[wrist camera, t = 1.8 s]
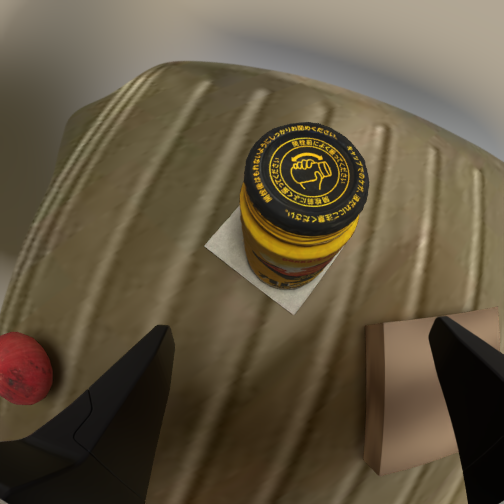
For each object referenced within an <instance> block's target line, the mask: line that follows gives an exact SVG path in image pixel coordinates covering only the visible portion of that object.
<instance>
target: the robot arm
mask: <svg viewBox="0 0 504 504" xmlns="http://www.w3.org/2000/svg"><path fill="white" fill-rule="evenodd" d="M428 340H429V344H430V348H431V352H432V356H433V360H434V364H435V369H436V373H437V377H438V380H439V383H440V386H441V389H442V392H443V396H444V399H445V402H446V406H447V409H448V412H449V416H450V420H451V423H452V427H453V431H454V435H455V439H456V443H457V447H458V451H459V456H460V460H461V465H462V470H463V476H464V481H465V487H466V493H467V500H468V504H499V503H501V502H502V501H504V354H502V353H501V352H499V351H498V350H497V349H495V348H494V347H492V346H491V345H489V344H488V343H487V342H485V341H484V340H482V339H481V338H479V337H478V336H476V335H475V334H473V333H472V332H470V331H469V330H467V329H466V328H464V327H463V326H461V325H460V324H458V323H457V322H455V321H454V320H452V319H451V318H449V317H448V316H438V317H436V319H435V320H434V323H433V325H432V327H431V330H430V332H429V335H428ZM174 352H175V343H174V339H173V335H172V331H171V328H170V326H168V325H157V326H155V327H154V328H153V329H152V330H151V331H150V332H149V333H148V334H147V335H145V336H144V337H143V338H142V339H141V340H140V341H139V342H138V343H137V344H136V345H135V346H133V347H132V348H131V349H130V350H129V351H128V352H127V353H126V354H125V355H124V356H123V357H122V358H120V359H119V360H118V361H117V362H116V363H115V364H114V365H113V366H112V367H111V368H110V369H109V370H108V371H106V372H105V373H104V374H103V375H102V376H101V377H100V378H99V379H98V380H97V381H96V382H95V383H94V384H92V385H91V386H90V387H89V390H88V389H87V390H86V391H85V392H84V393H83V394H82V395H81V396H79V397H78V398H77V399H76V400H75V401H74V402H73V403H72V404H70V405H69V406H68V407H67V408H65V409H64V410H63V411H62V412H60V413H59V414H58V415H57V416H55V417H54V418H53V419H51V420H50V421H49V422H47V423H46V424H45V425H43V426H42V427H40V428H39V429H38V430H36V431H35V432H34V433H32V434H31V435H29V436H27V437H25V438H23V439H19V440H14V441H3V442H0V504H145V501H144V500H146V495H147V490H148V485H149V480H150V475H151V470H152V465H153V461H154V456H155V451H156V447H157V442H158V438H159V434H160V429H161V425H162V421H163V416H164V412H165V408H166V404H167V400H168V396H169V391H170V384H171V376H172V368H173V360H174Z"/></svg>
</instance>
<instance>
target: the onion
mask: <svg viewBox="0 0 504 504" xmlns="http://www.w3.org/2000/svg"><path fill="white" fill-rule="evenodd" d="M52 383H53V370H52V366H51V363H50V359H49V357H48V356H47V354H46V352H45V350H44V349H43V347H42V346H41V345H40V344H39V343H38V342H37V341H36V340H35V339H34V338H32V337H30V336H27V335H24V334H21V333H19V332H10V333H7V334H4V335H1V336H0V396H2V397H3V398H5V399H6V400H8V401H10V402H11V403H14V404H19V405H32V404H35V403H37V402H39V401H40V400H42V399H43V398H45V397H46V396H47V394H48V392H49V390H50V388H51V386H52Z"/></svg>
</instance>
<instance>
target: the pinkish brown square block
mask: <svg viewBox="0 0 504 504" xmlns="http://www.w3.org/2000/svg"><path fill="white" fill-rule="evenodd" d="M444 316H448V317H449V318H451V319H452V320H454V321H455V322H457V323H458V324H460V325H461V326H463V327H464V328H466V329H467V330H469V331H470V332H472V333H473V334H475V335H476V336H478V337H479V338H481V339H482V340H484V341H485V342H487V343H488V344H489V345H491V346H492V347H494V348H495V349H497V350H498V351H499V352H500V332H499V315H498V307H493V308H487V309H482V310H476V311H470V312H464V313H458V314H451V315H444ZM437 317H438V316H437ZM435 319H436V317H430V318H422V319H414V320H405V321H397V322H387V323H380V324H374V325H367V326H365V339H366V422H365V442H364V457H363V460H364V461H365V462H366V463H367V464H368V465H369V466H370V467H371V468H372V469H373V470H374V471H375V472H376V473H377V474H378V475H379V476H383V475H387V474H391V473H395V472H399V471H403V470H406V469H410V468H413V467H416V466H420V465H423V464H426V463H429V462H432V461H435V460H438V459H441V458H443V457H446V456H449V455H452V454H454V453H457V452H459V451H458V447H457V443H456V439H455V435H454V431H453V427H452V423H451V420H450V416H449V412H448V409H447V406H446V402H445V399H444V396H443V392H442V389H441V386H440V383H439V380H438V377H437V373H436V369H435V364H434V360H433V356H432V352H431V348H430V344H429V340H428V335H429V332H430V330H431V327H432V325H433V323H434V320H435Z"/></svg>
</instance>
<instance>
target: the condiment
mask: <svg viewBox="0 0 504 504" xmlns="http://www.w3.org/2000/svg"><path fill="white" fill-rule="evenodd" d="M244 174H245V176H244V182H243V184H242V188H241V191H240V200H239V202H240V204H239V205H240V206H239V207H238V208H237V209H236V210H235V211H234V212H233V213H232V215H231V216H230V218H228V219H227V220H226V221H225V223H224V224H223V225H222V226H221V227H220V228H219V230H218V231H217V232H216V233H215V234H214V235H213V236H212V238H211V239H210V240H209V241H208V242H207V243H206V245H205V247H206V248H207V249H209V250H210V251H211V252H213V253H214V254H215V255H216V256H217V257H219V258H220V259H221V260H223V261H224V262H225V263H227V264H228V265H229V266H230V267H232V268H233V269H234V270H236V271H237V272H238V273H239V274H241V275H242V276H243V277H244V278H246V279H247V280H248V281H249V282H251V283H252V284H253V285H255V286H256V287H257V288H259V289H260V290H261V291H262V292H264V293H265V294H266V295H268V296H269V297H270V298H272V299H273V300H274V301H276V302H277V303H278V304H280V305H281V306H282V307H283V308H285V309H286V310H287V311H289V312H290V313H292V314H293V315H295V313H296V312H297V311H298V309H299V308H300V307H301V305H302V304H303V303H304V301H305V300H306V298H307V297H308V296H309V294H310V293H311V292H312V290H313V289H314V288H315V286H316V285H317V283H318V282H319V281H320V279H321V278H322V276H323V275H324V274H325V272H326V271H327V270H328V268H329V267H330V265H331V264H332V262H333V261H334V260H335V258H336V257H337V255H338V254H339V252H340V251H341V250H342V248H343V247H344V245H345V244H346V242H347V241H348V240H349V239H350V238H351V237H352V235H353V233H354V231H355V228H356V226H357V224H358V220H359V214H360V212H361V211H362V210H363V208H364V205H365V203H366V201H367V196H368V188H369V177H368V173H367V168H366V165H365V160H364V158H363V157H362V156H361V154H360V153H359V151H358V150H357V149H356V148H355V146H354V145H353V144H352V143H351V142H350V141H349V140H348V139H347V138H346V137H345V136H343V135H342V134H340V133H338V132H337V131H335V130H333V129H332V128H330V127H327V126H324V125H321V124H319V123H311V122H304V123H293V124H288V125H284V126H280V127H277V128H274V129H272V130H270V131H269V132H267V133H266V134H265V135H263V136H262V137H261V138H260V139H259V140H258V141H257V142H256V143H255V144H254V146H253V147H252V149H251V150H250V153H249V155H248V157H247V160H246V166H245V172H244ZM242 239H243V242H242ZM244 245H245V247H244Z"/></svg>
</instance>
